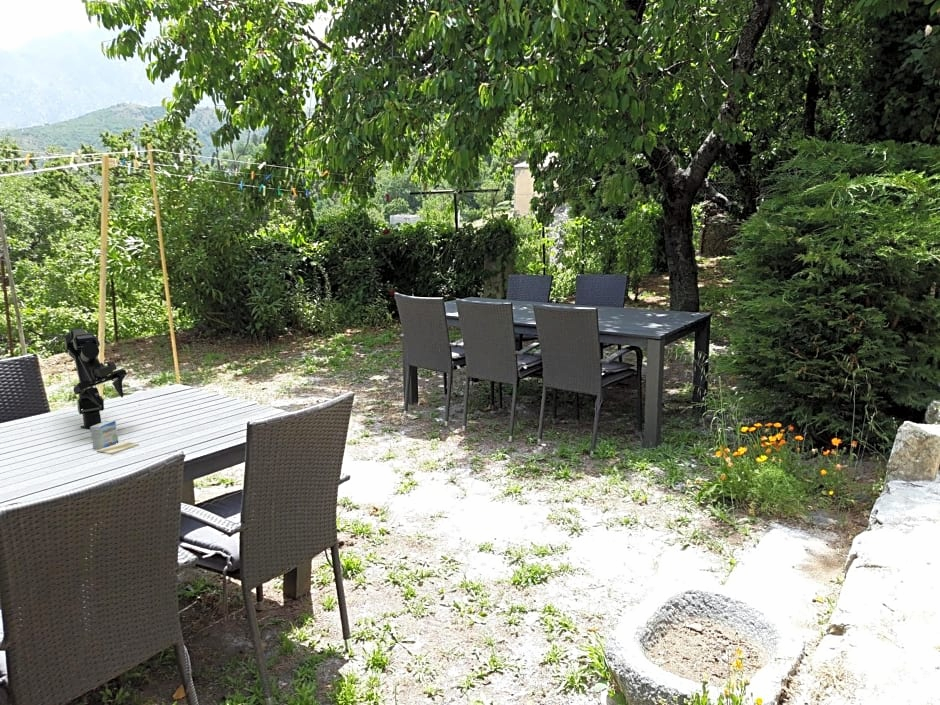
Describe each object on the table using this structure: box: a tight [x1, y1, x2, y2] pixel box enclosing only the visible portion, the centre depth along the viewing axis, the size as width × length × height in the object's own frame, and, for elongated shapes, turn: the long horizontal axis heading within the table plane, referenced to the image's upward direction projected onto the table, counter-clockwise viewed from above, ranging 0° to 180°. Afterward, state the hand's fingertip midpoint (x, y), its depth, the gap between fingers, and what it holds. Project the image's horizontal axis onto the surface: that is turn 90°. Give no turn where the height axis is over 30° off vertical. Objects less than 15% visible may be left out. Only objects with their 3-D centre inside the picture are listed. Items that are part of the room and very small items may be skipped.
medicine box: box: [89, 420, 119, 450], centre depth 253 cm, size 8×4×9 cm, turn 168°
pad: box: [96, 441, 140, 456], centre depth 250 cm, size 8×11×1 cm
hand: (111, 401), depth 264 cm, fingers open, 9 cm apart
